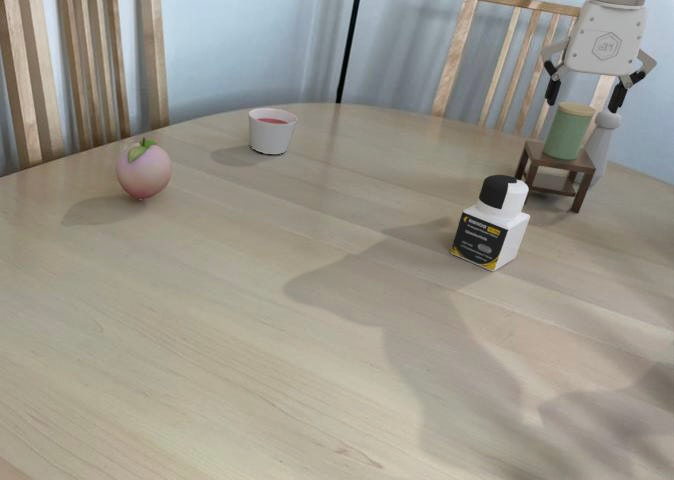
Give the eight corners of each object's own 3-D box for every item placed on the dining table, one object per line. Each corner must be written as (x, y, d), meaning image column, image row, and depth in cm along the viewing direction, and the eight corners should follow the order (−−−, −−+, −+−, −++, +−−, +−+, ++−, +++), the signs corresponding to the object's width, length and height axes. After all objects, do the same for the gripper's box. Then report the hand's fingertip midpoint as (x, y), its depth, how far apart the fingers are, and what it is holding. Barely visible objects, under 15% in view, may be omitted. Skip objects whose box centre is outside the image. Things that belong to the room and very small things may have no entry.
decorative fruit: (163, 216, 113) (166, 152, 107) (110, 208, 113) (111, 144, 108) (174, 192, 120) (178, 131, 115) (125, 185, 121) (126, 124, 115)
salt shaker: (570, 184, 139) (596, 114, 131) (565, 173, 143) (590, 105, 136) (603, 189, 138) (631, 119, 130) (596, 178, 142) (624, 110, 135)
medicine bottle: (448, 253, 110) (472, 176, 103) (472, 240, 114) (496, 166, 108) (493, 273, 106) (520, 194, 99) (515, 259, 110) (543, 182, 104)
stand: (568, 191, 135) (584, 149, 131) (578, 213, 127) (596, 168, 123) (511, 182, 137) (525, 140, 132) (518, 203, 129) (533, 158, 124)
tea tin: (574, 150, 129) (591, 104, 125) (580, 162, 125) (598, 114, 120) (539, 145, 130) (555, 99, 126) (544, 156, 126) (561, 109, 121)
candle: (269, 138, 146) (273, 105, 142) (301, 153, 140) (307, 119, 137) (235, 145, 141) (238, 112, 137) (267, 161, 135) (272, 126, 132)
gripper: (563, -8, 112) (528, 107, 121) (687, 4, 109) (642, 120, 118) (555, -15, 118) (523, 95, 127) (672, -4, 115) (630, 107, 125)
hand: (580, 107), depth 123 cm, fingers open, 9 cm apart
